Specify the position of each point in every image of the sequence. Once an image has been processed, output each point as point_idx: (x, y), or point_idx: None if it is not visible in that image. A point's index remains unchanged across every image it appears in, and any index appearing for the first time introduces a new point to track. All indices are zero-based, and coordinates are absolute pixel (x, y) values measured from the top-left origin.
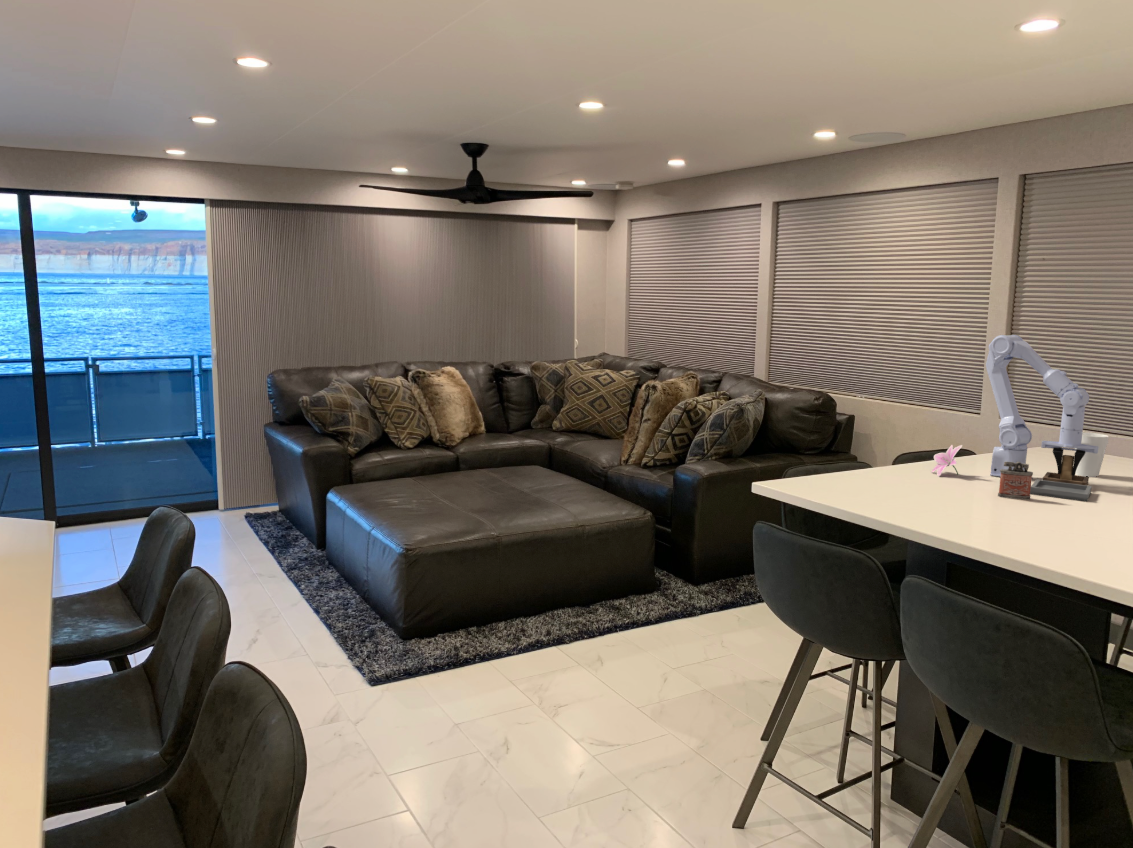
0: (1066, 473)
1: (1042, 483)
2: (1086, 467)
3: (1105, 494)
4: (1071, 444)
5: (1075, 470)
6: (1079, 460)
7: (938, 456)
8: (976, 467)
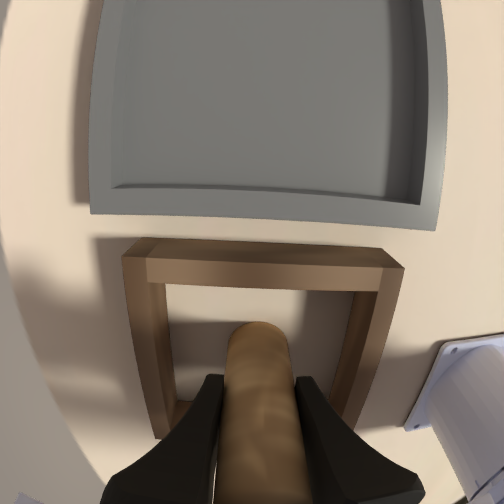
0: (259, 373)
1: (396, 198)
2: None
3: (52, 221)
4: None
5: (198, 396)
6: (156, 453)
7: None
8: None
